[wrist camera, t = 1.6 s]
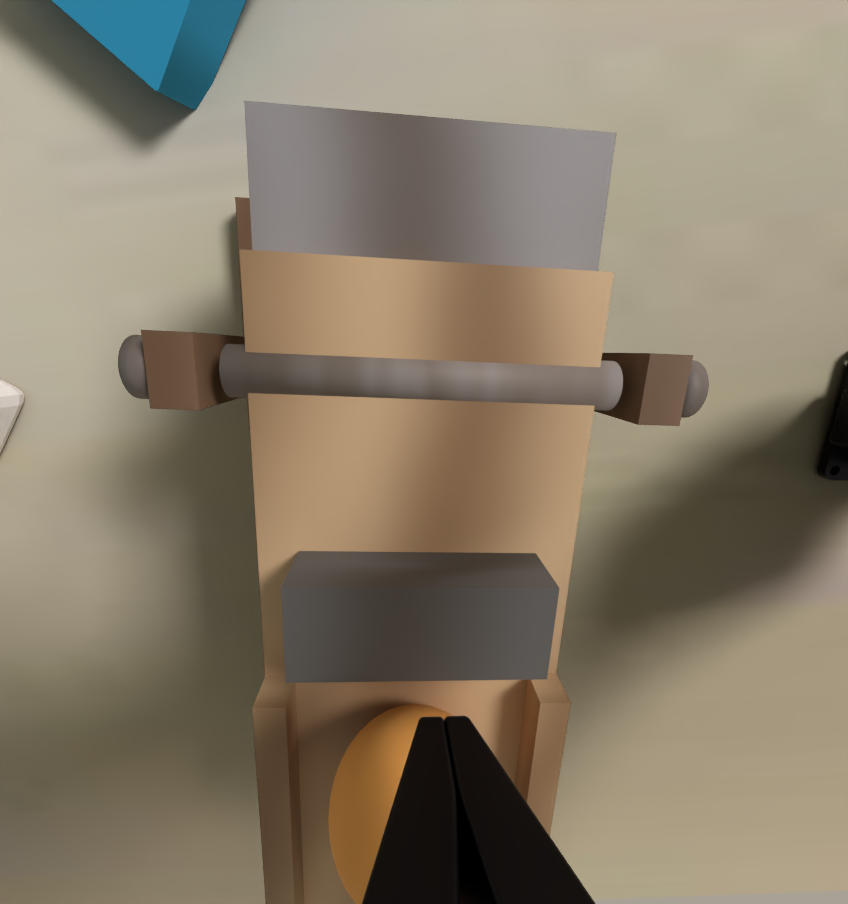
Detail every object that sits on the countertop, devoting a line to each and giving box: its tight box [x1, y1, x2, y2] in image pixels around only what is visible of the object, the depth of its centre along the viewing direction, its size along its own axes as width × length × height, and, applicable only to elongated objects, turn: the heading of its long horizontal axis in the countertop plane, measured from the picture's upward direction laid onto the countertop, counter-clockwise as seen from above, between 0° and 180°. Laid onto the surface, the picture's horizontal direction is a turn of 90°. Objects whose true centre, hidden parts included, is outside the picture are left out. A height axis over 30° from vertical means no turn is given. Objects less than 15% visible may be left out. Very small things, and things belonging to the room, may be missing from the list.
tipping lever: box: [219, 101, 623, 904], centre depth 13 cm, size 9×22×7 cm, turn 177°
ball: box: [328, 704, 453, 904], centre depth 10 cm, size 4×4×4 cm
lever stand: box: [118, 197, 709, 430], centre depth 13 cm, size 14×9×10 cm, turn 87°
